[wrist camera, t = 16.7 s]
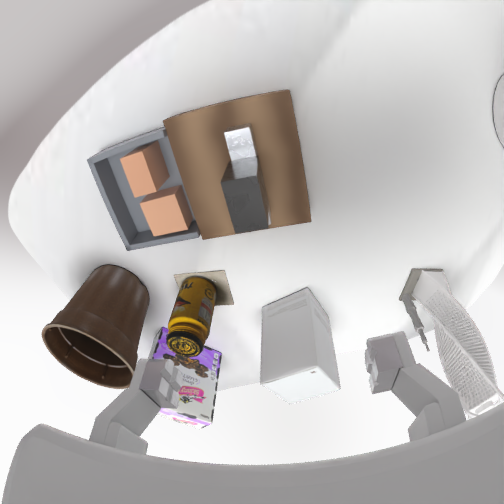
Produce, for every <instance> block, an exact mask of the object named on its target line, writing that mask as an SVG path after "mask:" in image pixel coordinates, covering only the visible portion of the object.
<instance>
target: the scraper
mask: <svg viewBox="0 0 504 504" xmlns="http://www.w3.org/2000/svg"><path fill="white" fill-rule="evenodd" d="M224 135H225V138H226V142H227V146H228V150H229V154H230V157H231V161H229V162H228V165H227V167H226V170H225V172H224V175H223V177H222V179H221V182H220V183H221V187H222V190H223V194H224V197H225V200H226V204H227V207H228V211H229V214H230V218H231V221H232V224H233V228H234V231H235V234H238V233H244V232H250V231H256V230H262V229H268V228H269V225H270V224H271V211H270V206H269V201H268V196H267V192H266V187H265V183H264V178H263V174H262V169H261V165H260V160H259V156H258V152H257V147H256V143H255V139H254V135H253V130H252V126H251V123H247V124H242V125H237V126H233V127H228V128H227V129H226V131H225V132H224Z"/></svg>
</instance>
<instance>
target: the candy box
mask: <svg viewBox="0 0 504 504" xmlns="http://www.w3.org/2000/svg"><path fill="white" fill-rule="evenodd" d="M168 331H169V330H168V329H166V328H164V327H162V328H161V330H160V331H159V333H158V334H157V335H156V337H155V338H154V341H153V345H152V348H151V351H150V354H149V357H148V359H171V360H172V361H173V362H174V367H176V368H178V369H179V370H180V371H181V374H182V379H183V383H182V388H181V389H180V390H179V391H178V394H179V396H180V398H179V403H178V408H177V409H172V408H161V410H160V411H159V412H158V414H157V415H160V416H163V417H165V418H168V419H171V420H174V421H176V422H179V423H183V424H185V425H189V426H192V427H195V428H197V429H202V428H204V427H206V426H207V425H210V424H212V420H213V413H214V406H215V399H216V391H217V384H218V377H219V370H220V363H221V356H222V353H220V352H218V351H215V350H213V349H210V348H208V347H206V346H204V347H203V348H204V349H203V351H202V352H201V353H200V354H199V355H198V356H196V357H184V356H180V355H178V354H176V353H174V352H173V351H171V350H170V349H169V348H168V346H167V344H166V338H167V336H168Z"/></svg>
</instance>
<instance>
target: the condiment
mask: <svg viewBox="0 0 504 504" xmlns="http://www.w3.org/2000/svg"><path fill="white" fill-rule="evenodd" d="M174 278H175V280H176V282H177V284H178V287H179V289H180V290H179V293H178V296H177V298H176V302H175V305H174V308H173V311H172V314H171V317H170V320H169V323H168V329H169V331H168V336H167V338H166V344H167V346H168V348H169V349H170V350H171V351H173V352H174V353H176V354H178V355H180V356H184V357H196V356H198V355H199V354H200V353H201V352H202V351H203V349H204V348H203V347H204V344H205V340H206V339H207V338H208V336H209V332H210V326H211V321H212V316H213V311H214V306H217V305H234V303H233V299H232V295H231V292H230V288H229V284H228V282H227V278H226V274H225V271H224V270H223V271H213V272H202V273H188V274H178V275H174ZM212 280H213V281H212ZM214 281H216V282H214Z"/></svg>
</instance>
